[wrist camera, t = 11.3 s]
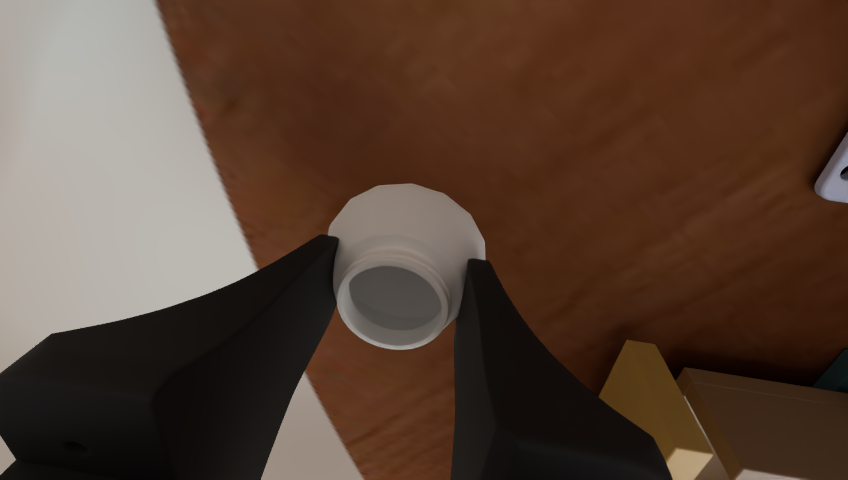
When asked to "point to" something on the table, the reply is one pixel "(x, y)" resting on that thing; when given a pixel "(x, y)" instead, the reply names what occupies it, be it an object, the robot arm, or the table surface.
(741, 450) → the drawer
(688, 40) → the table surface
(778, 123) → the table surface
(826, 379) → the cabinet
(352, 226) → the lidless jar
